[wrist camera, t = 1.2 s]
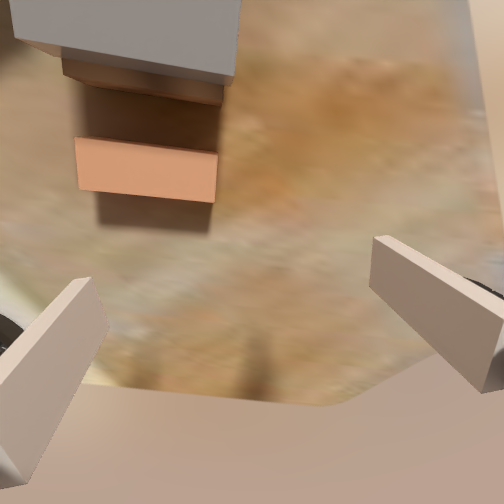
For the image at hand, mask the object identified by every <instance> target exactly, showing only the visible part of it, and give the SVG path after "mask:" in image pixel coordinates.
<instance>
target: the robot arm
mask: <svg viewBox="0 0 504 504" xmlns="http://www.w3.org/2000/svg"><path fill="white" fill-rule="evenodd" d="M369 287H370V288H371V289H372V290H373V291H374V292H375V293H376V294H377V295H378V296H379V297H381V298H382V299H383V300H384V301H385V302H386V303H387V304H388V305H389V306H390V307H391V308H392V309H393V310H394V311H395V312H396V313H397V314H398V315H399V316H400V317H401V318H402V319H404V320H405V321H406V322H407V323H408V324H409V325H410V326H411V327H412V328H413V329H414V330H415V331H416V332H417V333H418V334H419V335H420V336H421V337H422V338H423V339H424V340H425V341H426V342H428V343H429V344H430V345H431V346H432V347H433V348H434V349H435V350H436V351H437V352H438V353H439V354H440V355H441V356H442V357H443V358H444V359H445V360H446V361H447V362H448V363H450V365H452V366H453V367H454V368H455V369H456V370H457V371H458V372H459V373H460V374H461V375H462V376H463V377H464V378H465V379H466V380H467V381H468V382H469V383H470V384H471V385H472V386H474V387H475V388H476V389H477V390H478V391H479V392H480V393H481V394H482V393H487V392H493V391H497V390H502V389H504V297H503V295H501V294H499V293H498V292H496V291H492V289H490V288H489V287H487V286H485V285H483V284H481V283H479V282H477V281H474V280H471V279H468V278H465V277H462V276H460V275H458V274H456V273H455V272H453V271H451V270H449V269H447V268H446V267H444V266H442V265H440V264H439V263H437V262H435V261H433V260H432V259H430V258H428V257H426V256H424V255H423V254H421V253H419V252H417V251H416V250H414V249H412V248H410V247H408V246H407V245H405V244H403V243H401V242H400V241H398V240H396V239H394V238H393V237H391V236H389V235H385V236H378V237H373V245H372V258H371V270H370V282H369ZM109 328H110V326H109V324H108V321H107V318H106V315H105V313H104V310H103V307H102V304H101V301H100V299H99V296H98V293H97V290H96V288H95V285H94V282H93V279H92V277H87V278H80V279H73V281H72V282H71V283H70V284H69V285H68V286H67V287H66V288H65V289H64V290H63V291H62V292H61V293H60V294H59V295H58V296H57V297H56V298H55V299H54V300H53V302H52V303H51V304H50V305H49V306H48V307H47V308H46V309H45V310H44V311H43V312H42V313H41V314H40V315H39V316H38V317H37V318H36V319H35V320H34V321H33V323H32V324H31V325H30V326H29V327H28V328H27V329H26V330H25V331H23V330H22V329H21V328H20V327H19V326H18V325H16V324H15V323H14V322H12V321H11V320H9V319H8V318H6V317H5V316H3V315H1V314H0V489H4V488H9V487H14V486H19V485H24V484H27V483H28V482H29V480H30V478H31V476H32V474H33V472H34V470H35V468H36V466H37V464H38V463H39V461H40V459H41V457H42V455H43V453H44V451H45V449H46V447H47V446H48V444H49V442H50V440H51V438H52V436H53V434H54V432H55V430H56V429H57V427H58V425H59V423H60V421H61V419H62V417H63V415H64V413H65V411H66V409H67V408H68V406H69V404H70V402H71V400H72V398H73V396H74V394H75V392H76V391H77V389H78V387H79V385H80V383H81V381H82V379H83V377H84V375H85V373H86V372H87V370H88V368H89V366H90V364H91V362H92V360H93V358H94V356H95V354H96V353H97V351H98V349H99V347H100V345H101V343H102V341H103V339H104V337H105V336H106V334H107V332H108V330H109Z"/></svg>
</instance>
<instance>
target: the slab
mask: <svg viewBox="0 0 504 504" xmlns="http://www.w3.org/2000/svg"><path fill="white" fill-rule="evenodd" d="M9 3H10V10H11V17H12V23H13V30H14V37H15V38H17V39H19V40H21V41H23V42H25V43H27V44H29V45H31V46H33V47H35V48H37V49H39V50H41V51H43V52H45V53H48V54H50V55H52V56H54V57H60V58H66V59H72V60H78V61H84V62H90V63H96V64H101V65H107V66H113V67H119V68H125V69H131V70H137V71H143V72H148V73H154V74H160V75H166V76H172V77H178V78H184V79H190V80H195V81H201V82H207V83H213V84H219V85H225V86H231V84H232V81H233V78H234V73H235V62H236V51H237V40H238V30H239V19H240V8H241V0H9Z"/></svg>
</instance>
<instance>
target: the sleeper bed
mask: <svg viewBox="0 0 504 504" xmlns="http://www.w3.org/2000/svg"><path fill="white" fill-rule="evenodd" d="M61 59H62V68H63V75H65V76H68V77H70V78H73V79H75V80H78V81H80V82H83V83H85V84H88V85H90V86H94V87H100V88H107V89H113V90H119V91H126V92H132V93H138V94H145V95H151V96H157V97H164V98H170V99H176V100H183V101H189V102H195V103H202V104H208V105H214V106H222V102H223V91H224V85H219V84H213V83H207V82H201V81H195V80H190V79H184V78H178V77H172V76H166V75H160V74H154V73H148V72H143V71H137V70H131V69H125V68H119V67H113V66H107V65H101V64H96V63H90V62H84V61H78V60H72V59H66V58H61Z"/></svg>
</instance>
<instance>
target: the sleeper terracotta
mask: <svg viewBox="0 0 504 504" xmlns="http://www.w3.org/2000/svg"><path fill="white" fill-rule="evenodd" d="M74 142H75V152H76V162H77V172H78V183H79V189H81V190H91V191H101V192H111V193H122V194H132V195H142V196H152V197H162V198H172V199H182V200H192V201H202V202H212V203H214V200H215V187H216V174H217V162H218V152H211V151H203V150H196V149H188V148H180V147H172V146H165V145H157V144H149V143H141V142H133V141H126V140H118V139H110V138H102V137H74Z"/></svg>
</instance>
